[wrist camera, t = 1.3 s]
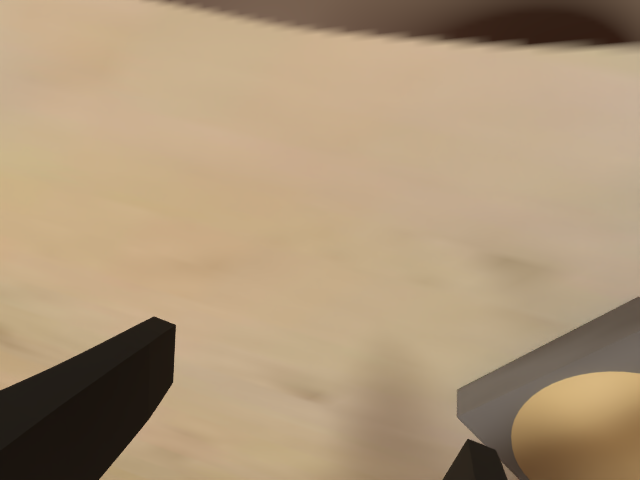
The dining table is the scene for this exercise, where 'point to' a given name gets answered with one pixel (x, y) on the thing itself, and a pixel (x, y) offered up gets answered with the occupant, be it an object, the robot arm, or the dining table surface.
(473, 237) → the dining table surface
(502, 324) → the dining table surface
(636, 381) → the charcoal base
